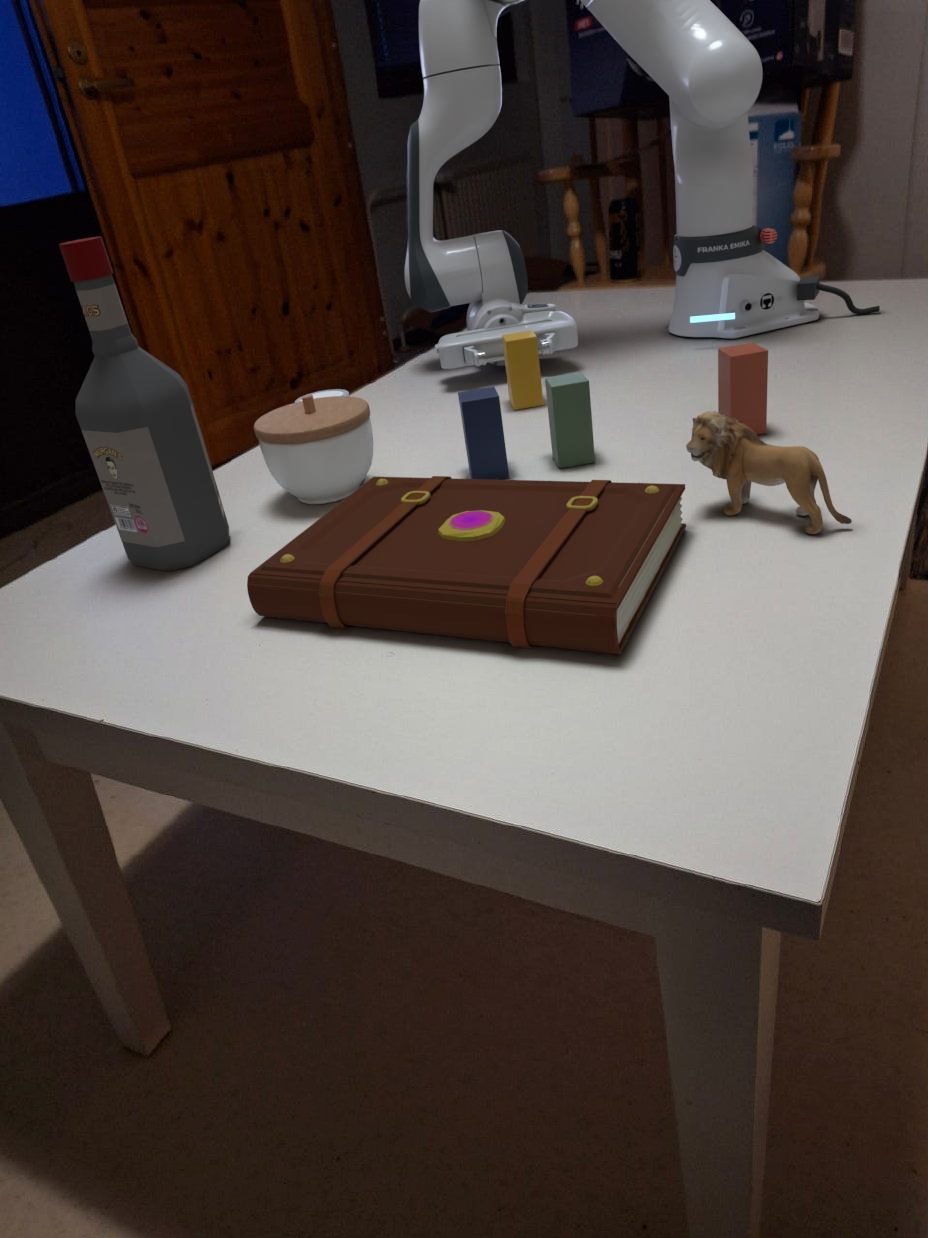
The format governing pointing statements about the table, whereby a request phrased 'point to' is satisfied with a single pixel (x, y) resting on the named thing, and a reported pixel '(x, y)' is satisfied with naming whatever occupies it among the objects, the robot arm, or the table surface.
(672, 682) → the table surface
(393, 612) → the book
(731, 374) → the terracotta block
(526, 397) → the mustard block
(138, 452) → the liquor
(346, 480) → the lidded bowl
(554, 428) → the sage block
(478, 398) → the navy block
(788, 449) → the lion figurine
